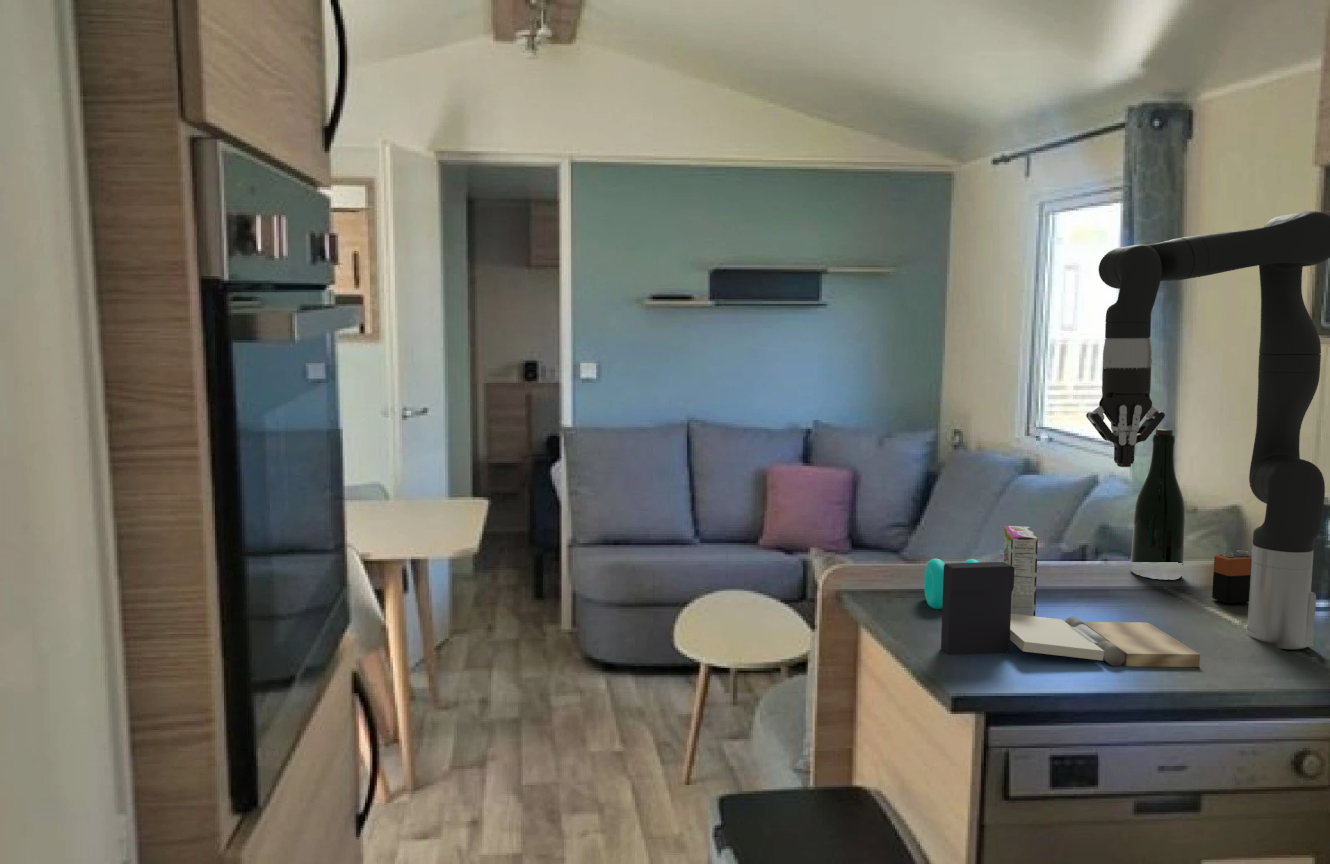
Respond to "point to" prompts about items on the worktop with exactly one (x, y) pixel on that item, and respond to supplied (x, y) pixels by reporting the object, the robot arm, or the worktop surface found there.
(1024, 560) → the candy bar box
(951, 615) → the calculator
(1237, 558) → the battery
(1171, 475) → the wine bottle
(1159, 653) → the fixed leaf
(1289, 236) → the robot arm
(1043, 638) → the hinge leaf
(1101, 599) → the worktop surface
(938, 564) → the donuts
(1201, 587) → the worktop surface
